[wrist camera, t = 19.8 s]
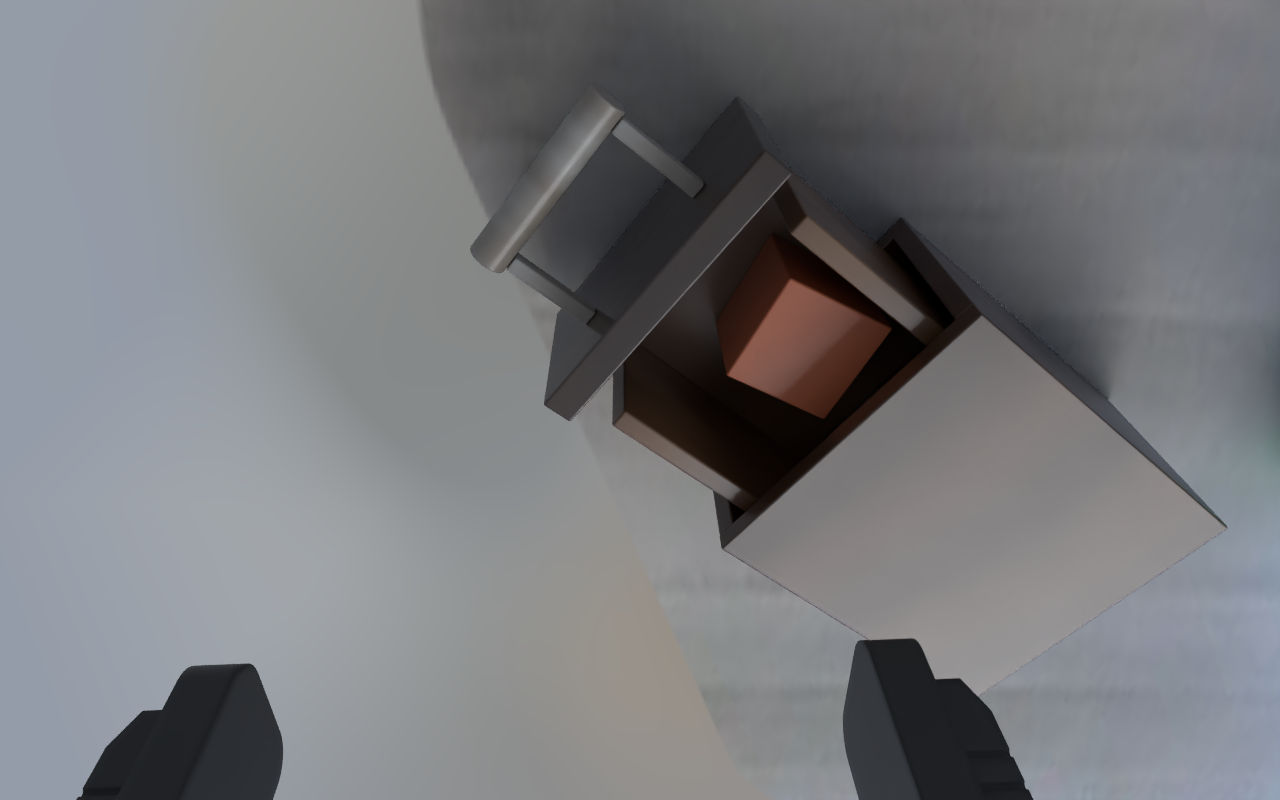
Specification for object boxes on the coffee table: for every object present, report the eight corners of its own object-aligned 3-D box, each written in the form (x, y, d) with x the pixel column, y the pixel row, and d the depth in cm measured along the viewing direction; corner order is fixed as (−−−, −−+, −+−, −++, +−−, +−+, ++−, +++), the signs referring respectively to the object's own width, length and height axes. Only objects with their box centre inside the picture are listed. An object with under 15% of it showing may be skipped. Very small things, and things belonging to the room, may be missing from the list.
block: (725, 375, 31) (824, 420, 32) (790, 277, 29) (893, 328, 30) (714, 322, 35) (803, 364, 36) (771, 232, 33) (863, 279, 34)
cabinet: (701, 418, 40) (721, 549, 32) (901, 216, 35) (982, 313, 27) (908, 560, 45) (969, 703, 37) (1110, 401, 40) (1228, 528, 32)
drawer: (457, 246, 34) (421, 328, 28) (632, 4, 29) (636, 37, 23) (785, 471, 40) (815, 579, 34) (971, 300, 36) (1045, 389, 29)
